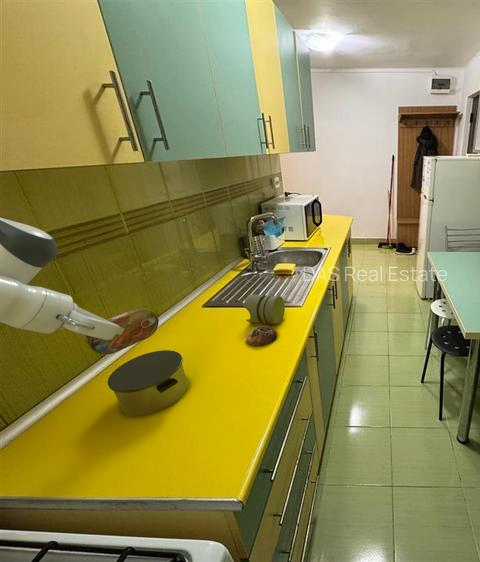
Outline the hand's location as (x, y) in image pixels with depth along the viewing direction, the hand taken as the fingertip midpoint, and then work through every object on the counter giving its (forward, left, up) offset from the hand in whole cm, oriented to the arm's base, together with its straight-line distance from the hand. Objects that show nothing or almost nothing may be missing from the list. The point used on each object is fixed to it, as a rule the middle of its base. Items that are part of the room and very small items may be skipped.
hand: (117, 329), depth 76 cm
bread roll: (+5, +38, -24) cm, 45 cm away
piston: (-3, +48, -24) cm, 53 cm away
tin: (0, +1, -5) cm, 6 cm away
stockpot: (0, +3, -24) cm, 24 cm away
